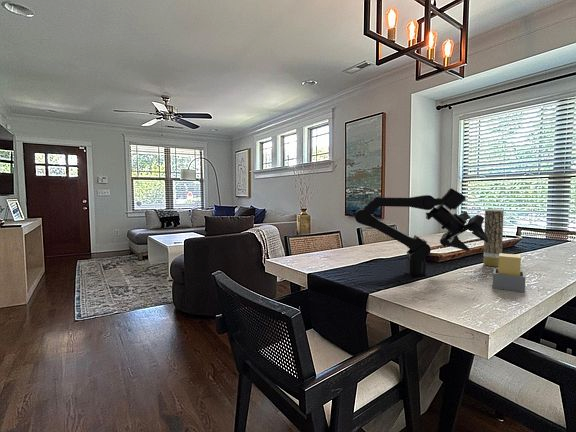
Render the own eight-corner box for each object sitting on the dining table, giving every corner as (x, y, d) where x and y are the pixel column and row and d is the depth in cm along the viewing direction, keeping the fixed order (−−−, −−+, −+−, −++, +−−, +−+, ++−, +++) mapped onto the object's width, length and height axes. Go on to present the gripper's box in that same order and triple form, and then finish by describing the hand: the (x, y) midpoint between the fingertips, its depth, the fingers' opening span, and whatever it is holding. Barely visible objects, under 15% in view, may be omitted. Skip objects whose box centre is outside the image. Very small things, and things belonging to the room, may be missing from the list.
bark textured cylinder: (505, 267, 136) (507, 209, 134) (489, 267, 136) (491, 210, 134) (494, 263, 142) (496, 209, 141) (480, 263, 142) (481, 209, 141)
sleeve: (492, 287, 106) (493, 273, 106) (493, 281, 113) (494, 268, 113) (524, 292, 101) (525, 277, 101) (524, 285, 108) (524, 271, 108)
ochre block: (497, 287, 107) (498, 255, 106) (498, 283, 112) (499, 253, 111) (519, 290, 103) (520, 257, 102) (519, 286, 108) (520, 254, 107)
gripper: (470, 195, 117) (504, 222, 116) (437, 217, 133) (466, 242, 131) (461, 212, 112) (496, 241, 110) (427, 233, 127) (457, 259, 126)
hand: (478, 246), depth 119 cm, fingers open, 9 cm apart
